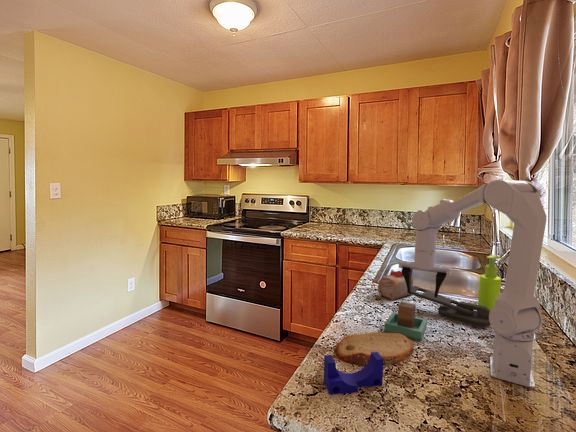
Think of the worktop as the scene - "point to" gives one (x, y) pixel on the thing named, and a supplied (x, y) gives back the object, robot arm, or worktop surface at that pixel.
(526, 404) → the worktop surface
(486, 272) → the soap dispenser
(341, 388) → the blue cradle
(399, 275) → the food item
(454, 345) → the worktop surface
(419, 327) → the teal well
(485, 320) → the dark grey stapler
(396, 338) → the bread slice
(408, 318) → the walnut post
